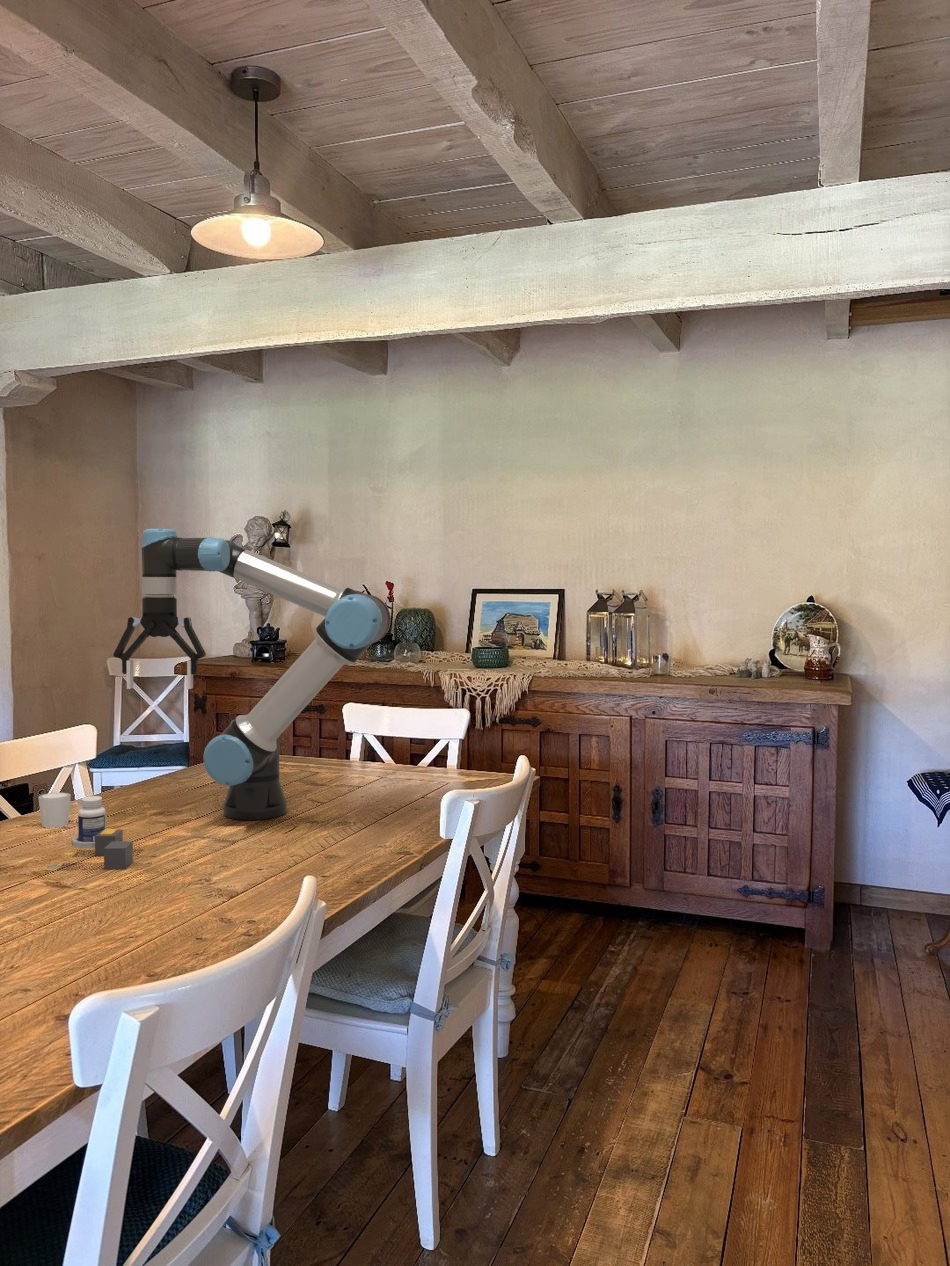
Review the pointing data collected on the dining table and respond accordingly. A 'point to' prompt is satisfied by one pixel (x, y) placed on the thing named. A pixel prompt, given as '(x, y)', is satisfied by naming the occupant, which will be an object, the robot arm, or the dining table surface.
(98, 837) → the tagged breaker
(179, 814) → the dining table surface
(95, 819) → the pill bottle
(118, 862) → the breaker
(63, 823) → the grey cup
